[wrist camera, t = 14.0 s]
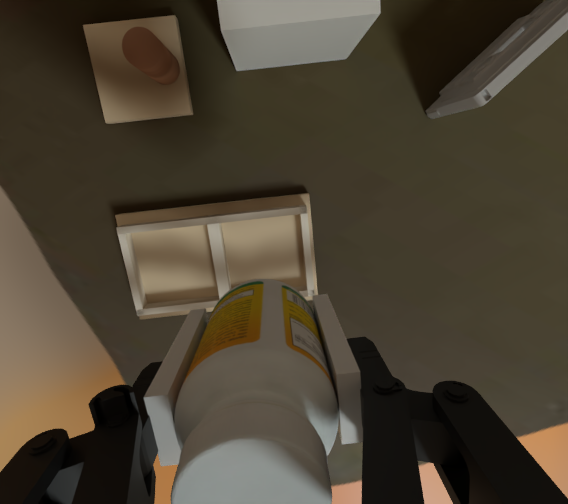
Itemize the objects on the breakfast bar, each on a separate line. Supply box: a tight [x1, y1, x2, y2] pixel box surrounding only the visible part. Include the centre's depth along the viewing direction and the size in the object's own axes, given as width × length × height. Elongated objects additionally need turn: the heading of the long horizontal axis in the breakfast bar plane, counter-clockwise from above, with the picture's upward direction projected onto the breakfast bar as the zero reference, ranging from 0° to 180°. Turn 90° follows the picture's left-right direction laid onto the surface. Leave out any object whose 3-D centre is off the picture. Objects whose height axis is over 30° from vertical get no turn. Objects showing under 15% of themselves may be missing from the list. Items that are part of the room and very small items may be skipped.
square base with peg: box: [83, 15, 193, 124], centre depth 25 cm, size 7×7×6 cm
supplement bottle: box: [171, 279, 339, 504], centre depth 13 cm, size 5×5×10 cm
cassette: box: [425, 0, 568, 119], centre depth 25 cm, size 12×2×8 cm, turn 133°
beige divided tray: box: [115, 193, 318, 319], centre depth 31 cm, size 10×17×2 cm, turn 96°
